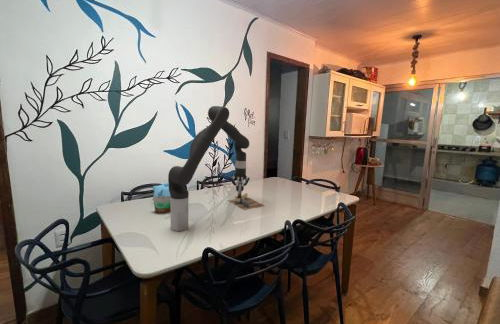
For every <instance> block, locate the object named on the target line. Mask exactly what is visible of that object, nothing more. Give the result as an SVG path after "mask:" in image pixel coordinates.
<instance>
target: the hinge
mask: <svg viewBox="0 0 500 324" xmlns="http://www.w3.org/2000/svg"><path fill="white" fill-rule="evenodd" d="M247 197H248V193H247V192H246V193H243V194H241V196H238V195H235V196H234V199H235V203H236V204H241V205H243V206H245V207H247V208H249V205H250V202H248V201H246V199H247Z"/></svg>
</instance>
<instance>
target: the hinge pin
mask: <svg viewBox="0 0 500 324" xmlns="http://www.w3.org/2000/svg"><path fill="white" fill-rule="evenodd" d="M242 182H243V183H244V181H239V182H238V191H237V196H242V192H243V191H242Z"/></svg>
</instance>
